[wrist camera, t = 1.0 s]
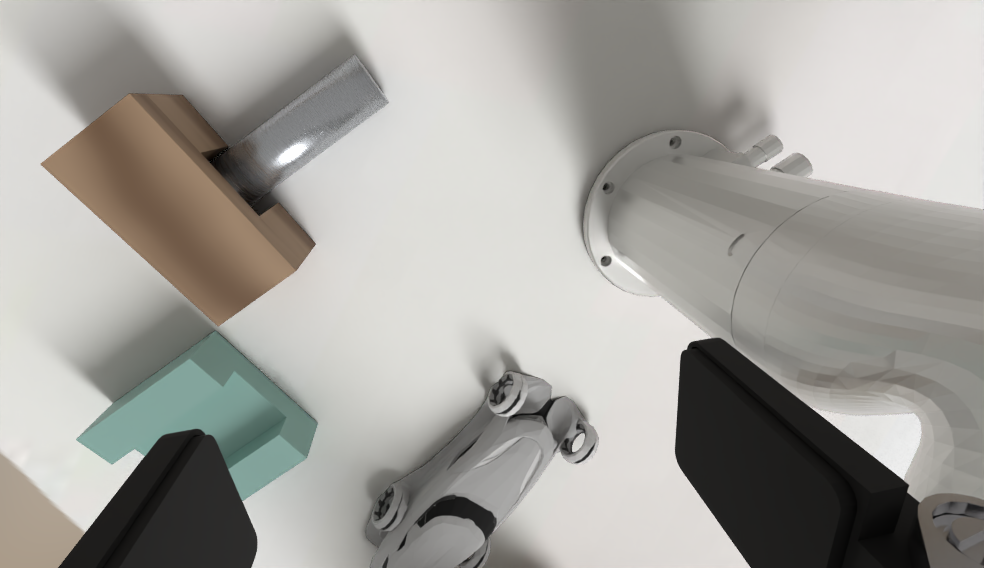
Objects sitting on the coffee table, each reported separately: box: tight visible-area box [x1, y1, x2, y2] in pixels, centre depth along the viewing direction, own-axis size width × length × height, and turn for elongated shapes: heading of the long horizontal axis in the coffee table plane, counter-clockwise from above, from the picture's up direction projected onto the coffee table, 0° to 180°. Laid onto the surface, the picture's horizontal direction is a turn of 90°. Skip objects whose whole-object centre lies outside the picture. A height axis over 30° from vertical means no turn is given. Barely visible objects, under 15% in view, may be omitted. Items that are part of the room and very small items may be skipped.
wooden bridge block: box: [41, 93, 316, 326], centre depth 28 cm, size 6×12×6 cm, turn 33°
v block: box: [76, 331, 318, 501], centre depth 34 cm, size 10×11×4 cm
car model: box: [366, 371, 599, 568], centre depth 40 cm, size 11×24×5 cm, turn 138°
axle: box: [210, 54, 389, 206], centre depth 28 cm, size 14×3×3 cm, turn 123°
